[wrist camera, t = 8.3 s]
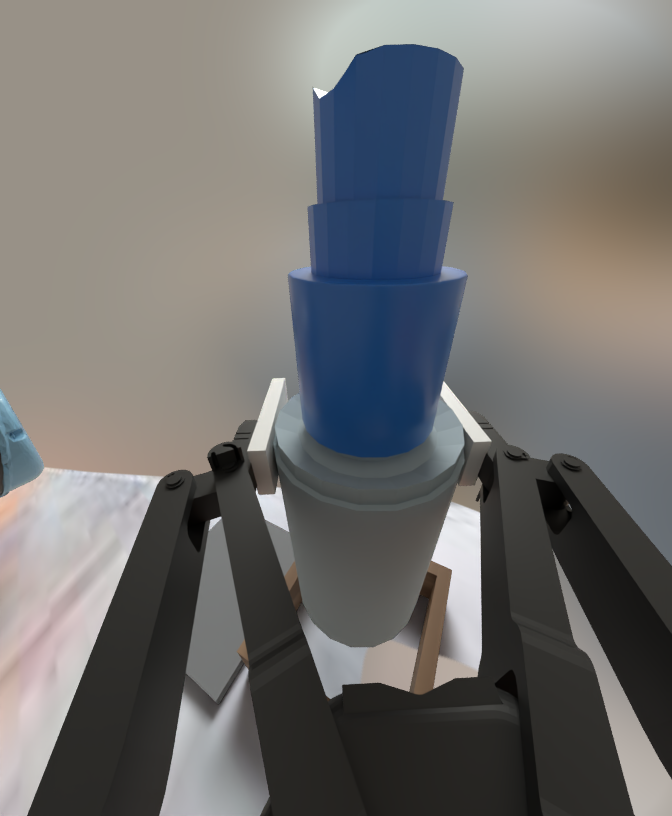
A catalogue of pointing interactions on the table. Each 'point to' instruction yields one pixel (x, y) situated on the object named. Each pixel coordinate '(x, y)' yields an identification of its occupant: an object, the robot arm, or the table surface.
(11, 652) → the table surface
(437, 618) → the walnut collar
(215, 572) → the rubber mat
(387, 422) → the spray bottle
